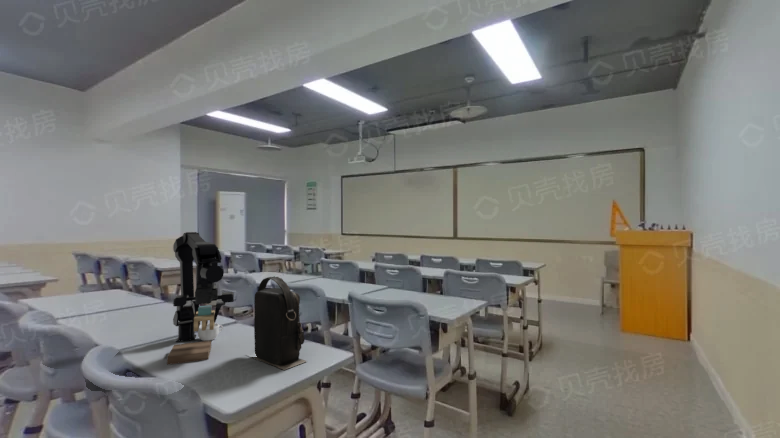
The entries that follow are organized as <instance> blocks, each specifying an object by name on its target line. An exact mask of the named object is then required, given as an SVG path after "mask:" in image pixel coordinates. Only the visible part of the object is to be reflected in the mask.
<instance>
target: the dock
mask: <svg viewBox="0 0 780 438" xmlns="http://www.w3.org/2000/svg"><path fill="white" fill-rule="evenodd" d="M211 351H212V340H210V341H196V342H189V343H188V342H187V343H186V342H185V343H179V344H173V346H172V348H171V350H170V351H169V353H168V355H167V357H166V358H167V359H166V360H167V361H166V364H167V365H174V364H182V363H189V362H197V361H198V362H199V361H206V360H209V357H210V354H211Z"/></svg>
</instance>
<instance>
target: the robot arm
mask: <svg viewBox="0 0 780 438" xmlns="http://www.w3.org/2000/svg"><path fill="white" fill-rule="evenodd" d="M172 247H173V248H172V249H173V253H174V255H175V256H174V257H175V258H176V260H177V261H178V262H179V269H180V271H179V272H180V274H179V275H180V295H179V294H178V295H176V296H175V298H173V307H176V310H175V313H174V315H173V317H172V318H173V319H172V322H173V323H172V324H173V325H174V326H175V327H177V329H178V330H177V332H178V333H177V335H178V336H177V338H176V339H175V342H176V343H179V342H187V341H189V342H190V341H195V340H196V338H197V334H196V331H195V332H194V317H195V315H196V312H198V308H199V306H200V305H203V304H206V305H209V304H211V303H212V302H214V301H216V305H215V309H214V310H215V316H214V322H215V323H216V322H217V319H218V315H219V312H220V309H222V307H223V306H225V305H226V303H233V302H234V300H235V299H234V298H235V297H234V295H235V294H234V292H233V291H226V292H222V293H221V294H219V288H218V287H217V288H216V287H215V283H219V282H220V281H221V280H222V278H223V277H224V275H225V274H224V273H225V272H224V269H223V268H222V267H221V266H220V265H219V264H221V263H222V255H221V253H220V250H219V247H218V246H217V245H216V244H215V243H214V242H207V241H205V240H204V239H203V238H202V237H201V236H200V234H199V232H197V231H194V232H193V231H185V232H184V233H182V235H181V236H179V237H178V238H176V239H175V240H174V243H173V245H172ZM194 263H195V266H196V268H195V280H194ZM194 281H195V283H194ZM194 284H195V285H194ZM194 287H195V288H194Z"/></svg>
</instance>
